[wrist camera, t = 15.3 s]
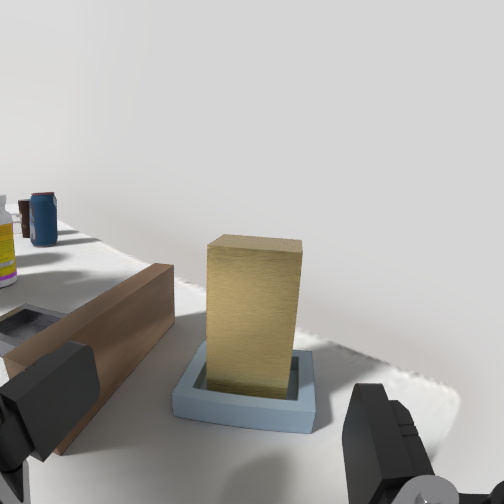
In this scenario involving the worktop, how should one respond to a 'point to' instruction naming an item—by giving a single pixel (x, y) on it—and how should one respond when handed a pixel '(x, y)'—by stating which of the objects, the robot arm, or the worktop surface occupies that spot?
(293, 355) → the socket
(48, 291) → the worktop surface
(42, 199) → the soda can
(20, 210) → the coffee mug
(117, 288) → the board
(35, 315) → the grey square flat frame
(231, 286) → the block
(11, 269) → the supplement bottle
